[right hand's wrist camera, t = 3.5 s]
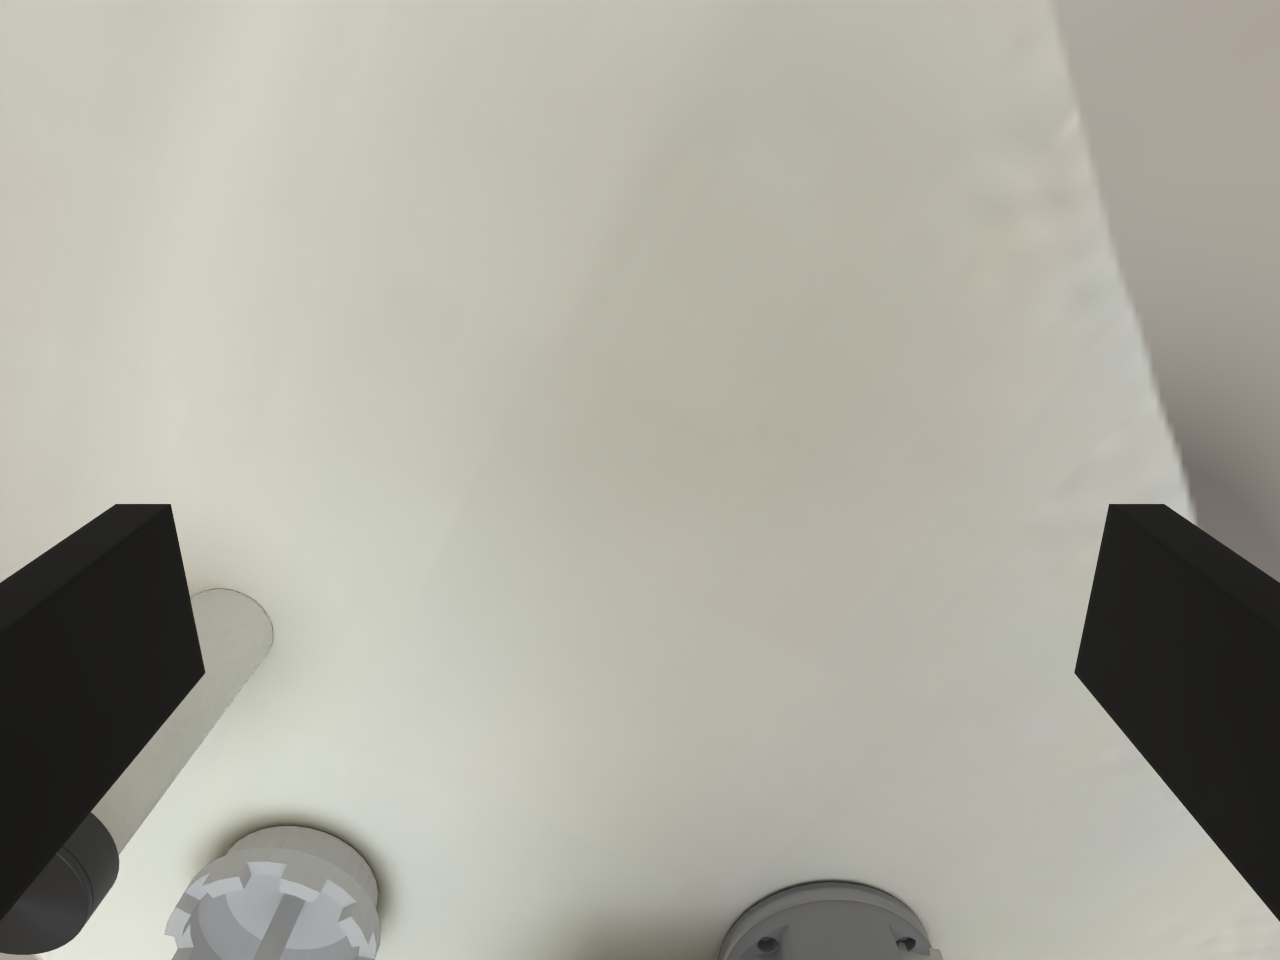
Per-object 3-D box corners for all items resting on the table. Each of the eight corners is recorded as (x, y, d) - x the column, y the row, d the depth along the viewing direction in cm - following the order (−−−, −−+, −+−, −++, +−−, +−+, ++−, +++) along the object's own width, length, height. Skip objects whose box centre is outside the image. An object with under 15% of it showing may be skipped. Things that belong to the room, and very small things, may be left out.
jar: (229, 572, 52) (3, 806, 34) (292, 639, 54) (109, 898, 35) (161, 618, 53) (-93, 869, 35) (225, 682, 55) (14, 955, 36)
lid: (33, 758, 35) (-7, 798, 33) (153, 866, 37) (123, 910, 35) (-78, 832, 36) (-123, 874, 34) (43, 932, 38) (8, 978, 36)
